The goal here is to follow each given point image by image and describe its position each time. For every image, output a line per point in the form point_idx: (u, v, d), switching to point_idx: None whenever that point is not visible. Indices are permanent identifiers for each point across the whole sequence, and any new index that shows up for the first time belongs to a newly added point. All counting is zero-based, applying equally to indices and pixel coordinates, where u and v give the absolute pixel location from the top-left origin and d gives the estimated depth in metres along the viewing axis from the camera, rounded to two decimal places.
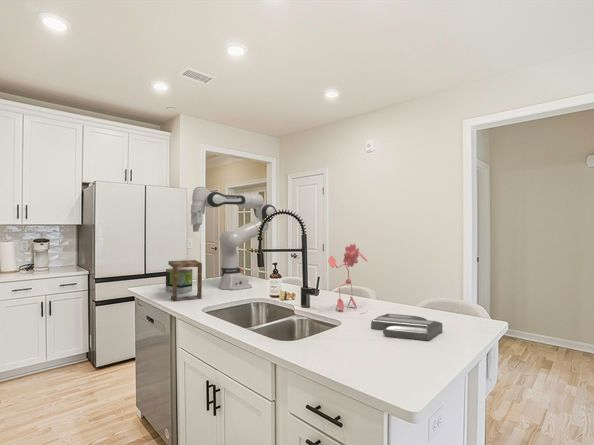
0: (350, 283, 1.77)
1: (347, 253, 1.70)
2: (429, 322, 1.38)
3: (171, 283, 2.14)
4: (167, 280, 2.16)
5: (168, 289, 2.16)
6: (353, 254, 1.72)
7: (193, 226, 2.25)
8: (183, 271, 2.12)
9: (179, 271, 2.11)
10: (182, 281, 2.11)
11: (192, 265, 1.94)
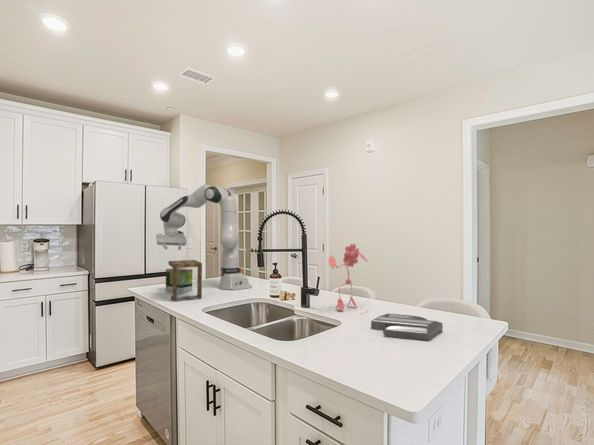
0: (350, 283, 1.77)
1: (347, 253, 1.70)
2: (429, 322, 1.38)
3: (171, 283, 2.14)
4: (167, 280, 2.16)
5: (168, 289, 2.16)
6: (353, 254, 1.72)
7: (180, 246, 2.41)
8: (183, 271, 2.12)
9: (179, 271, 2.11)
10: (182, 281, 2.11)
11: (192, 265, 1.94)
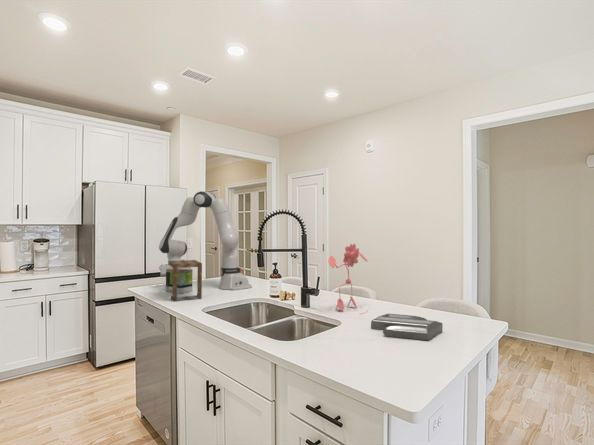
0: (350, 283, 1.77)
1: (347, 253, 1.70)
2: (429, 322, 1.38)
3: (171, 283, 2.13)
4: (167, 280, 2.15)
5: (168, 289, 2.15)
6: (353, 254, 1.72)
7: None
8: (183, 271, 2.11)
9: (179, 271, 2.10)
10: (182, 281, 2.10)
11: (192, 265, 1.94)
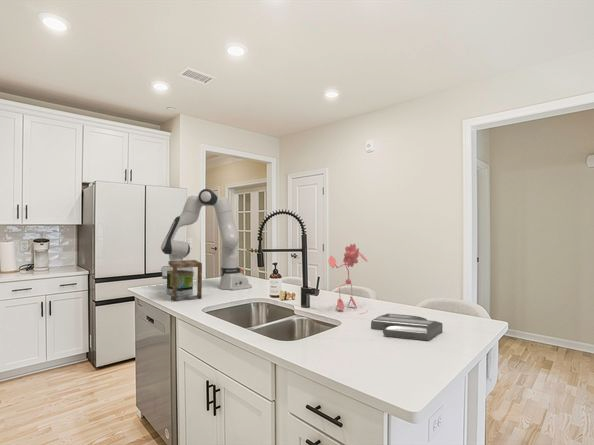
0: (350, 283, 1.77)
1: (347, 253, 1.70)
2: (429, 322, 1.38)
3: (171, 285, 2.05)
4: (168, 282, 2.08)
5: (168, 292, 2.07)
6: (353, 254, 1.72)
7: None
8: (182, 273, 2.02)
9: (178, 273, 2.01)
10: (181, 284, 2.01)
11: (192, 265, 1.94)
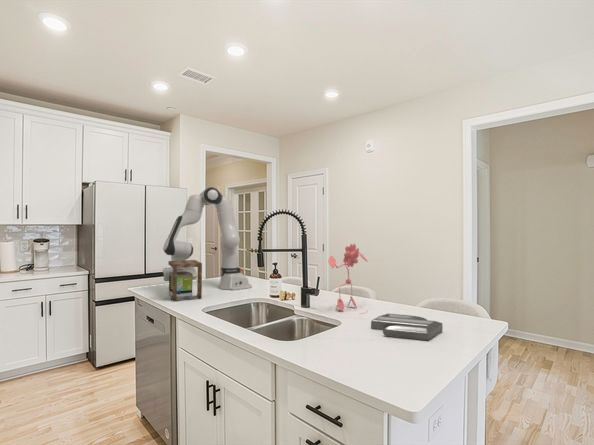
0: (350, 283, 1.77)
1: (347, 253, 1.70)
2: (429, 322, 1.38)
3: (171, 288, 1.98)
4: (169, 284, 2.01)
5: (170, 294, 2.00)
6: (353, 254, 1.72)
7: None
8: (180, 276, 1.93)
9: None
10: (179, 287, 1.92)
11: (192, 265, 1.94)
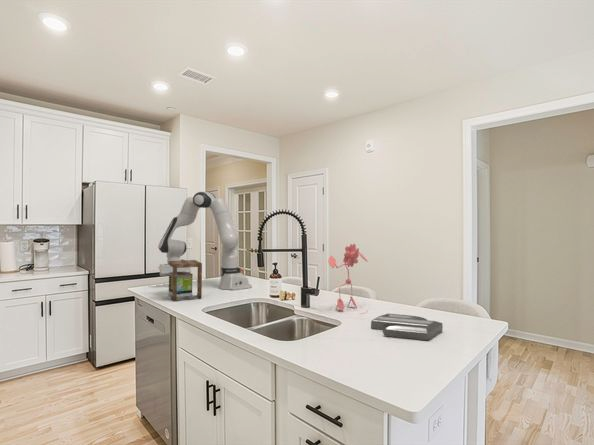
0: (350, 283, 1.77)
1: (347, 253, 1.70)
2: (429, 322, 1.38)
3: (171, 288, 1.98)
4: (169, 284, 2.01)
5: (169, 294, 2.00)
6: (353, 254, 1.72)
7: None
8: (180, 276, 1.93)
9: None
10: (179, 287, 1.92)
11: (192, 265, 1.94)
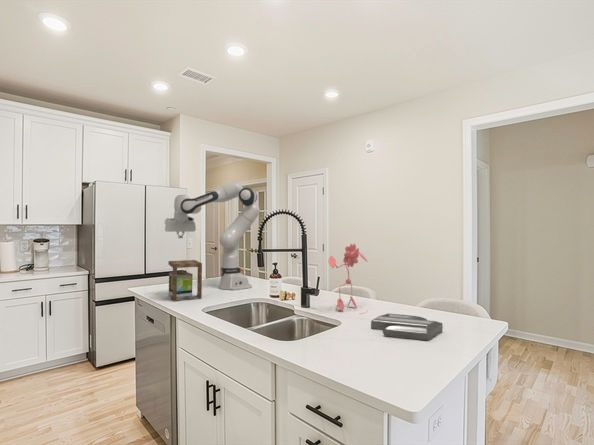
0: (350, 283, 1.77)
1: (347, 253, 1.70)
2: (429, 322, 1.38)
3: (171, 288, 1.98)
4: (169, 284, 2.01)
5: (169, 294, 2.00)
6: (353, 254, 1.72)
7: None
8: (180, 276, 1.93)
9: None
10: (179, 287, 1.92)
11: (192, 265, 1.94)
